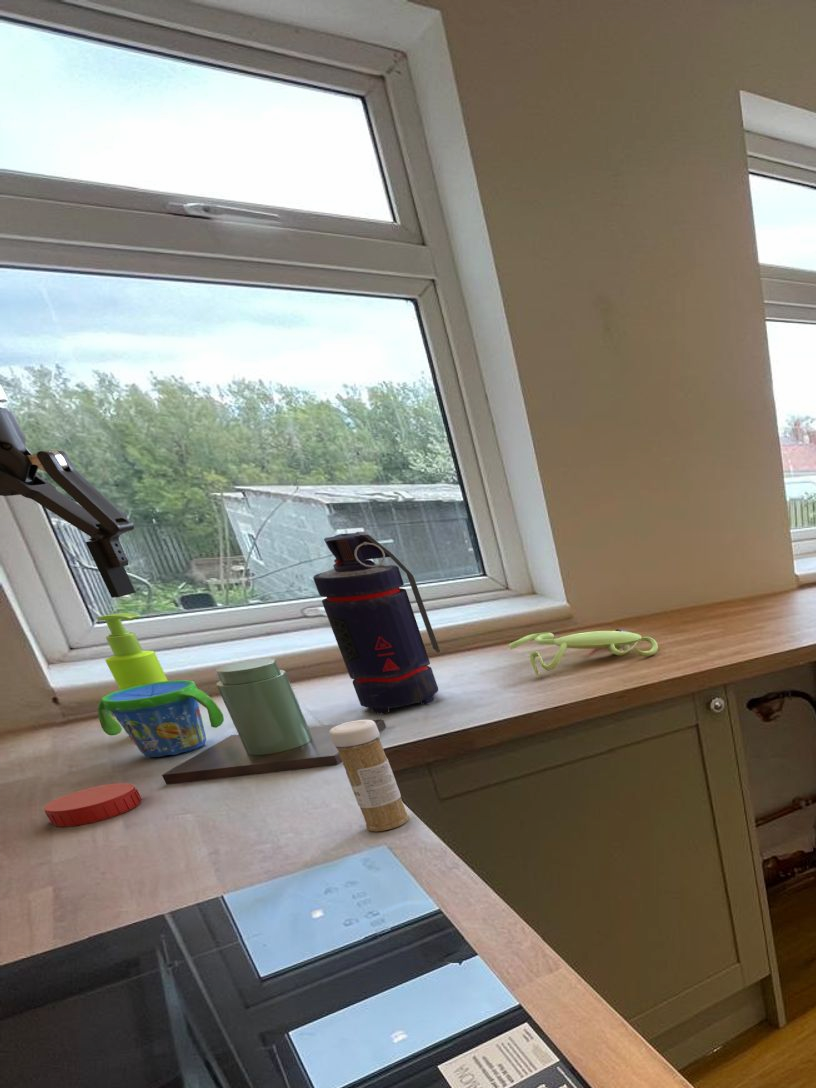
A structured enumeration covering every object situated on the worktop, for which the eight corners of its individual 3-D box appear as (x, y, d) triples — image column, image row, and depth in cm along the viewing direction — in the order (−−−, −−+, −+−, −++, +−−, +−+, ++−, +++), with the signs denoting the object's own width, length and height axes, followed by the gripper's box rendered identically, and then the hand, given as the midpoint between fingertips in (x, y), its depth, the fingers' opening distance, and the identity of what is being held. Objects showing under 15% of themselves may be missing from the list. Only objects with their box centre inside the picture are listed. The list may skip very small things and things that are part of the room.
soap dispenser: (171, 734, 137) (115, 618, 129) (131, 735, 137) (73, 619, 129) (203, 721, 142) (151, 609, 134) (165, 722, 143) (111, 611, 135)
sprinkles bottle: (364, 824, 102) (325, 725, 97) (407, 812, 105) (371, 715, 100) (370, 836, 99) (330, 735, 94) (414, 823, 102) (377, 724, 97)
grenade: (366, 719, 140) (300, 542, 128) (359, 703, 148) (296, 536, 136) (458, 699, 148) (404, 531, 136) (446, 685, 156) (395, 526, 144)
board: (165, 784, 117) (161, 774, 116) (234, 743, 131) (231, 735, 131) (337, 764, 121) (334, 755, 121) (386, 727, 136) (383, 718, 135)
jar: (234, 758, 121) (196, 675, 116) (265, 738, 128) (231, 660, 123) (295, 751, 123) (260, 669, 118) (322, 732, 130) (291, 654, 125)
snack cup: (253, 734, 135) (227, 676, 131) (198, 760, 125) (169, 698, 121) (157, 740, 134) (129, 681, 130) (95, 766, 125) (62, 704, 121)
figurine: (513, 660, 171) (505, 634, 169) (645, 637, 184) (640, 613, 182) (519, 681, 157) (511, 653, 155) (663, 655, 170) (657, 629, 167)
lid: (106, 823, 106) (98, 807, 105) (32, 830, 105) (23, 814, 104) (158, 794, 114) (151, 779, 113) (90, 801, 113) (82, 786, 112)
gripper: (-226, 411, 82) (-105, 617, 90) (68, 401, 87) (157, 597, 95) (-149, 412, 89) (-43, 603, 97) (120, 402, 94) (199, 585, 102)
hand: (56, 600), depth 96 cm, fingers open, 13 cm apart
